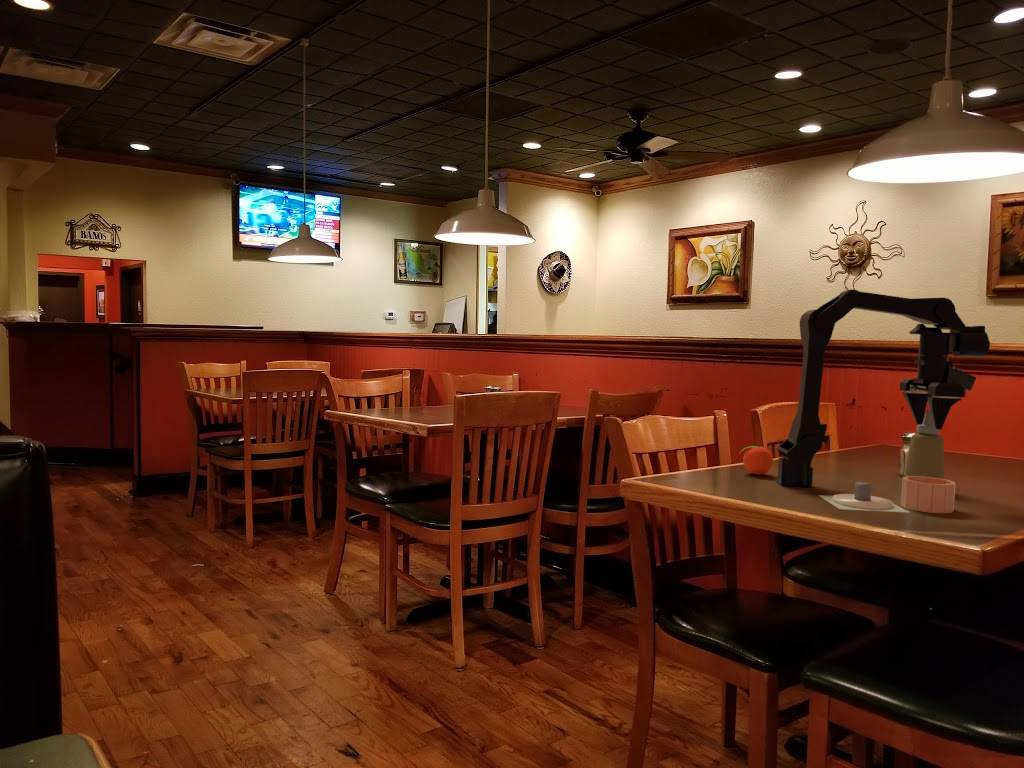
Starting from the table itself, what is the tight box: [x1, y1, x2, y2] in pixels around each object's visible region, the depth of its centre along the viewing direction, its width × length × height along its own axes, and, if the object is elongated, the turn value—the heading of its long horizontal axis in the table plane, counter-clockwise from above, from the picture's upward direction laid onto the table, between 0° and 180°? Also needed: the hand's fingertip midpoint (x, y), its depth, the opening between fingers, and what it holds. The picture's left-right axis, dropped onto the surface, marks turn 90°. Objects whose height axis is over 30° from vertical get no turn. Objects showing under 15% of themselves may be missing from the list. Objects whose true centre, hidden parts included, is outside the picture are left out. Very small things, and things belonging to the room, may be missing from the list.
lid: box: [832, 481, 894, 510], centre depth 154 cm, size 11×11×4 cm
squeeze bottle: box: [904, 409, 945, 479], centre depth 175 cm, size 8×8×18 cm
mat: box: [818, 494, 911, 514], centre depth 154 cm, size 13×13×1 cm
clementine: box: [738, 445, 774, 476], centre depth 188 cm, size 8×7×7 cm
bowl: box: [900, 475, 957, 514], centre depth 152 cm, size 9×9×6 cm
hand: (928, 426), depth 170 cm, fingers open, 9 cm apart
